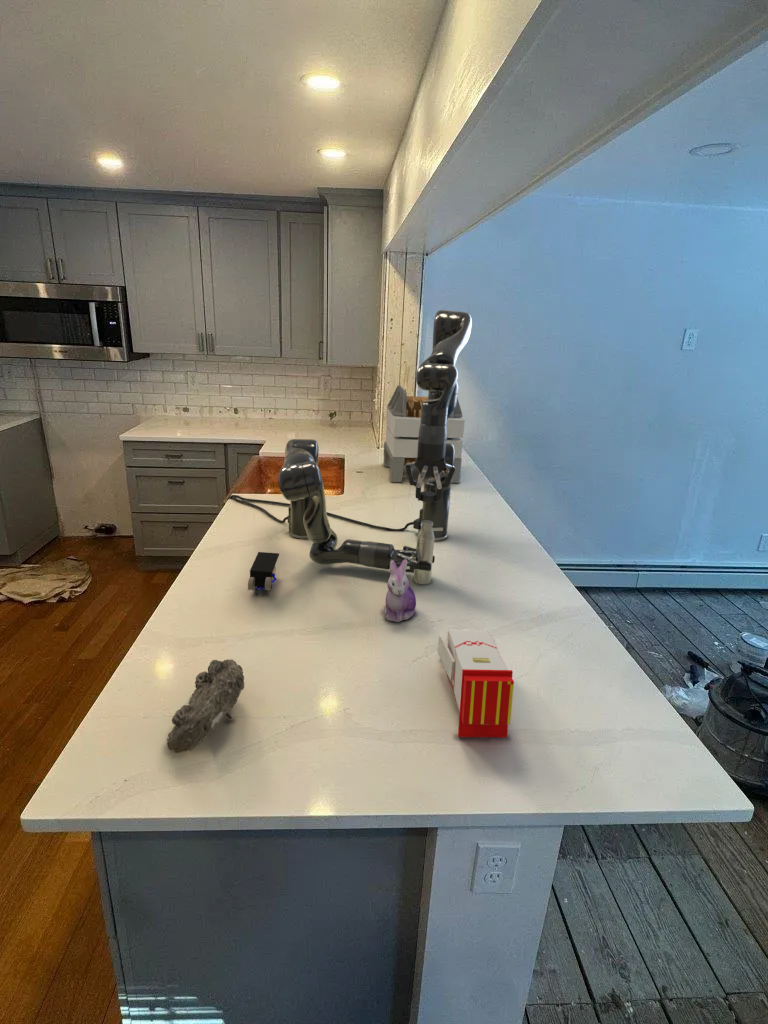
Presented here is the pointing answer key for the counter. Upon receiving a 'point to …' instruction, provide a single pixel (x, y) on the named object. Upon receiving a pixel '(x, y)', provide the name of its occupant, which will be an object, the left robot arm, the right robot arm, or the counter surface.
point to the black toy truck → (263, 572)
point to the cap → (428, 496)
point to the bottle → (424, 551)
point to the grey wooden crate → (414, 433)
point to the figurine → (399, 594)
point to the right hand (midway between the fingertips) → (427, 500)
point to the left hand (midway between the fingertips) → (432, 563)
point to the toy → (478, 682)
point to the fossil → (206, 705)
